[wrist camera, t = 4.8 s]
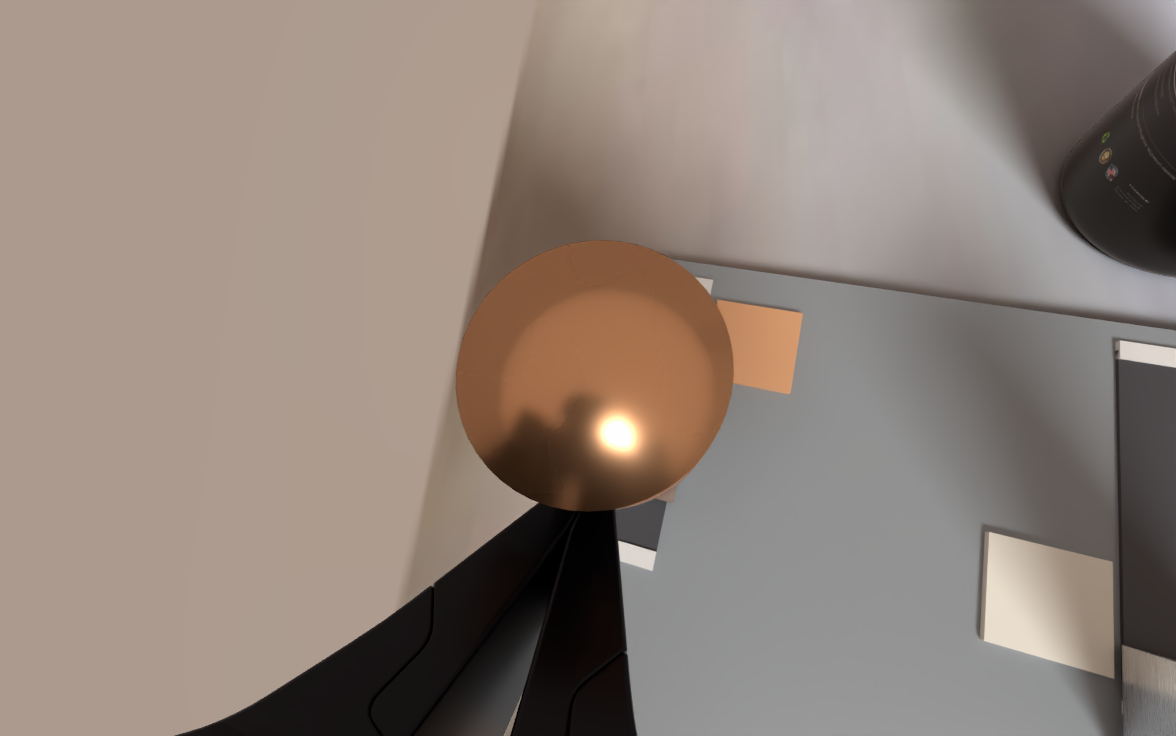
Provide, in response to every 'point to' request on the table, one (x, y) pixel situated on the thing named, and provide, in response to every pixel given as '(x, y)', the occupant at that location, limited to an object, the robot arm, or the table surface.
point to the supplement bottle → (1129, 177)
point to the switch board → (909, 522)
